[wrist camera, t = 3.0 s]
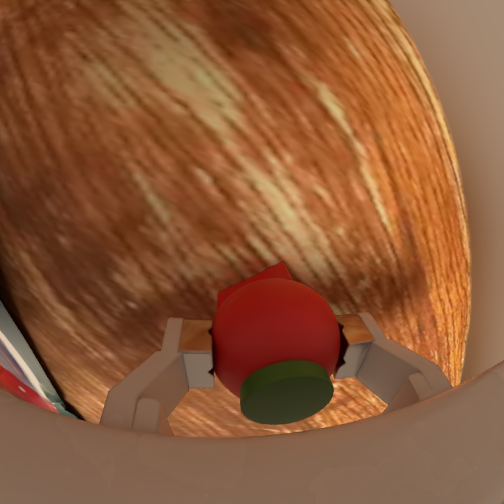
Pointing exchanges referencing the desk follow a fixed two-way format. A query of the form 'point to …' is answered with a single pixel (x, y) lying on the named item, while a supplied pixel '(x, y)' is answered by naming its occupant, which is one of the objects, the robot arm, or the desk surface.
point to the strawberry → (275, 347)
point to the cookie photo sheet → (24, 370)
